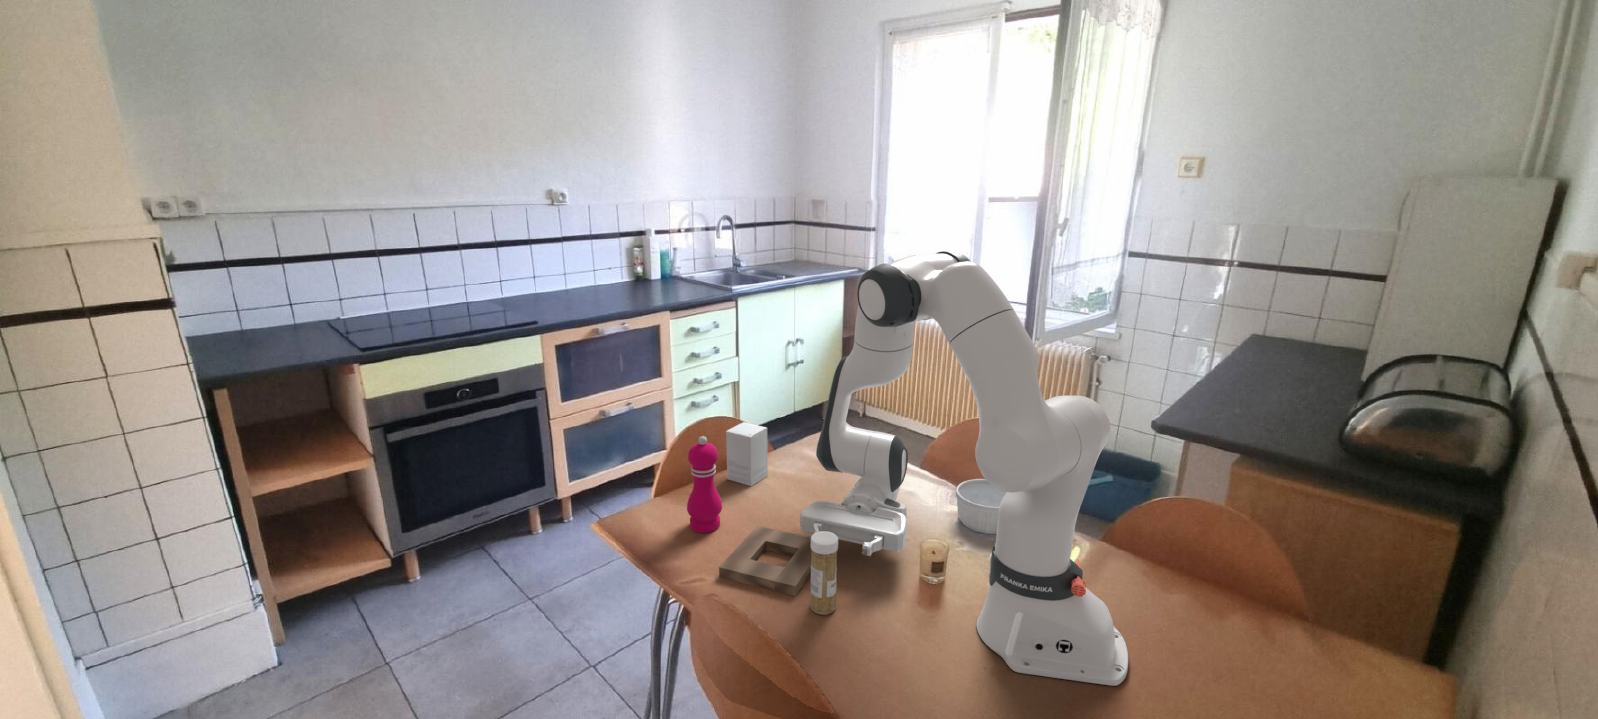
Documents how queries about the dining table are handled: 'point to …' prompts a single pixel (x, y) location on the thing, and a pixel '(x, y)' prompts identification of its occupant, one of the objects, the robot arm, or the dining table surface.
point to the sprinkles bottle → (823, 572)
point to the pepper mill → (704, 488)
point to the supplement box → (747, 453)
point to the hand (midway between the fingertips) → (840, 546)
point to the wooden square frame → (767, 575)
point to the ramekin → (979, 505)
